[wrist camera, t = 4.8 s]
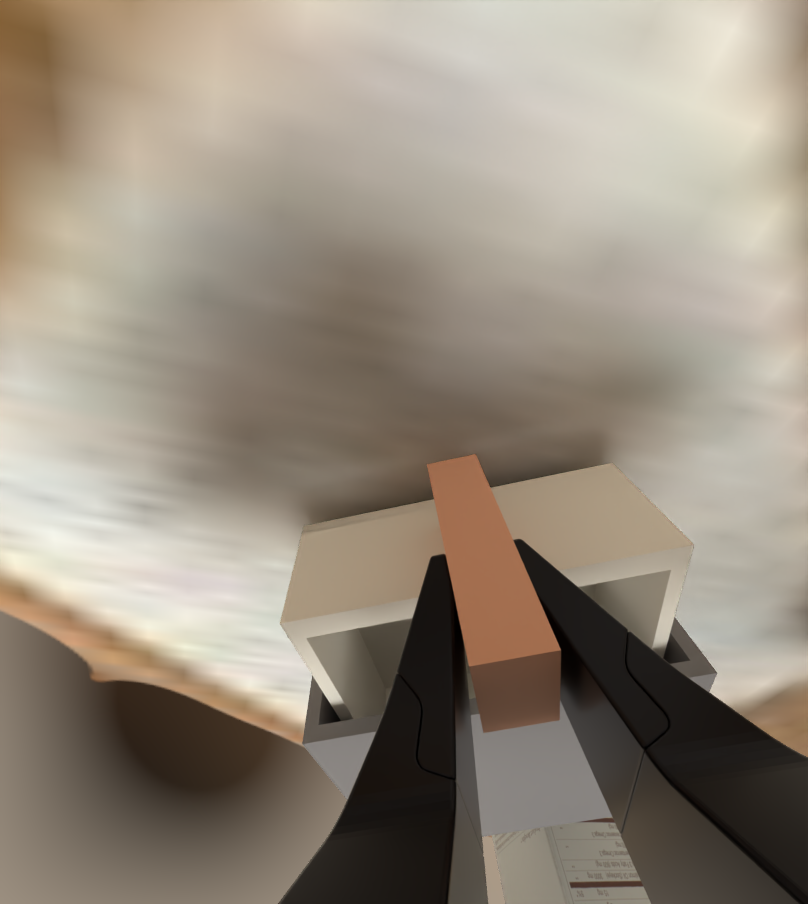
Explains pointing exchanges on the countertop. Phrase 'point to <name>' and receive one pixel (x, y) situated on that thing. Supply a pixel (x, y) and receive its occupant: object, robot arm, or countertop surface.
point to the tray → (404, 539)
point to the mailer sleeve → (500, 756)
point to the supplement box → (568, 865)
